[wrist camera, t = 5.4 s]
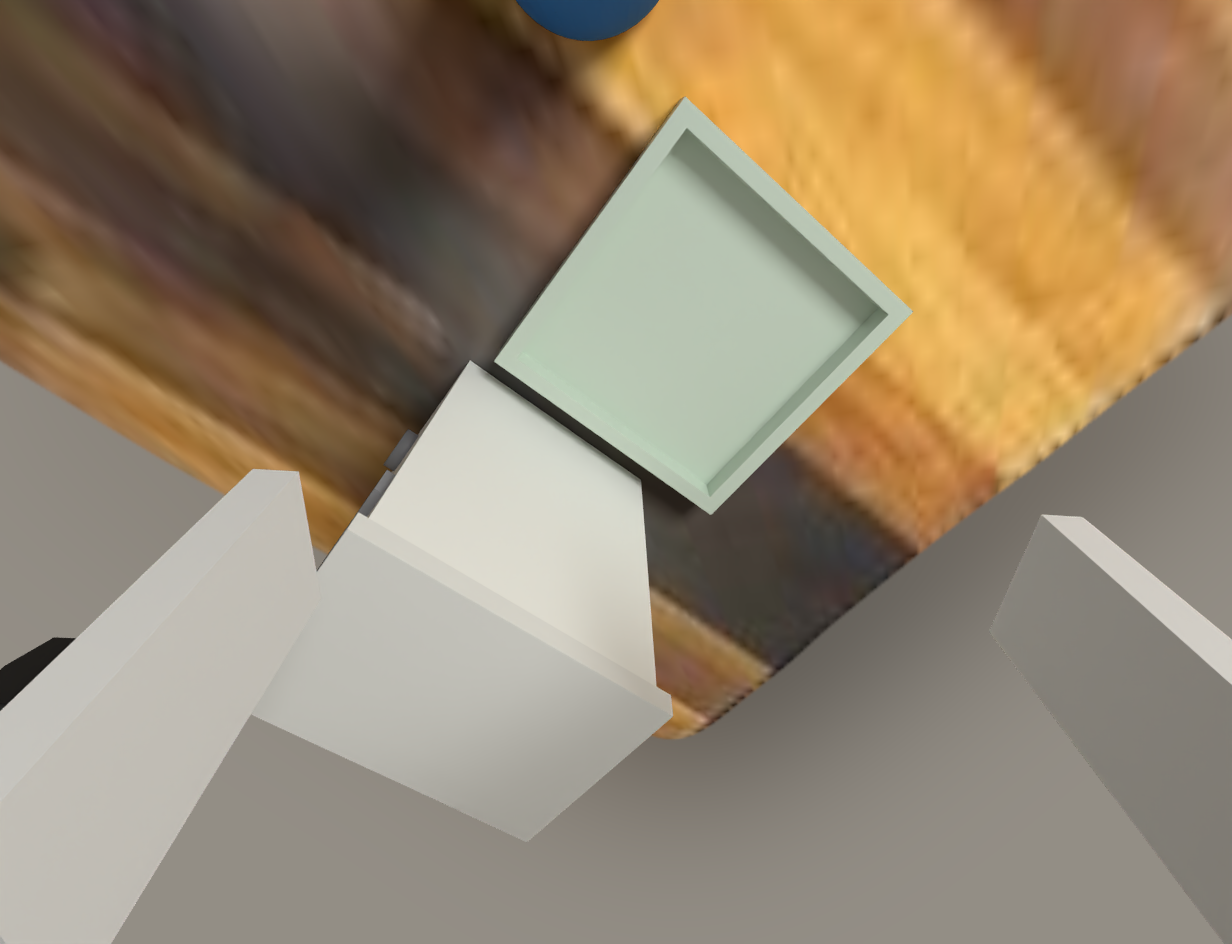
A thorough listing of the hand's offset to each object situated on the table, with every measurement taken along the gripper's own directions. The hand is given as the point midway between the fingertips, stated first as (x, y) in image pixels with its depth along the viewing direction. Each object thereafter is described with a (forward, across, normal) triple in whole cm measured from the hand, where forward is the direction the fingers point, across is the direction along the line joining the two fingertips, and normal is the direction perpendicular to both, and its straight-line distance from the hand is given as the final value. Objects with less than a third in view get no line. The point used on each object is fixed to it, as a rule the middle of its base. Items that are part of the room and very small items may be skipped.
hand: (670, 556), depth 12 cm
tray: (+19, +3, -1) cm, 19 cm away
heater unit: (+19, -5, -9) cm, 21 cm away
